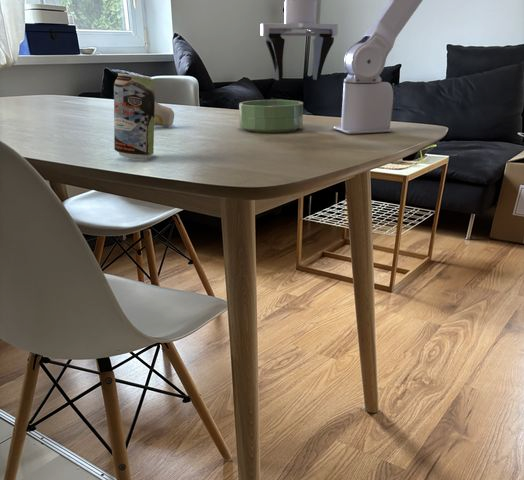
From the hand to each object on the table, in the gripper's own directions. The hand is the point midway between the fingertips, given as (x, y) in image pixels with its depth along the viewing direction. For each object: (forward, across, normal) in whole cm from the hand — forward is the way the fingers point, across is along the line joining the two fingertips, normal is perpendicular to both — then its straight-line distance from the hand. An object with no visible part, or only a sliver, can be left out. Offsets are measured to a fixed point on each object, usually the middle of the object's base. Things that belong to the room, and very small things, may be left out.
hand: (297, 80), depth 99 cm
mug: (+10, -28, +17) cm, 34 cm away
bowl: (+10, -4, +6) cm, 12 cm away
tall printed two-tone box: (+10, -33, -18) cm, 39 cm away
